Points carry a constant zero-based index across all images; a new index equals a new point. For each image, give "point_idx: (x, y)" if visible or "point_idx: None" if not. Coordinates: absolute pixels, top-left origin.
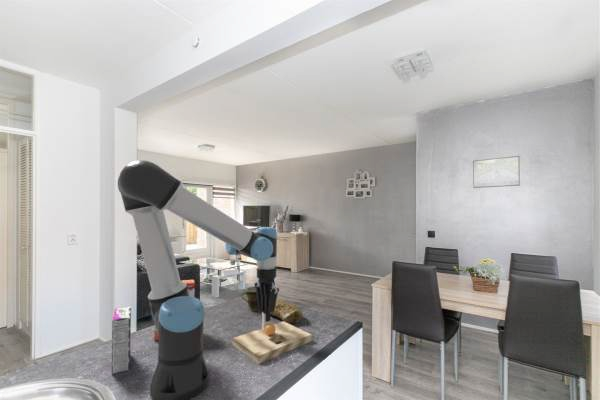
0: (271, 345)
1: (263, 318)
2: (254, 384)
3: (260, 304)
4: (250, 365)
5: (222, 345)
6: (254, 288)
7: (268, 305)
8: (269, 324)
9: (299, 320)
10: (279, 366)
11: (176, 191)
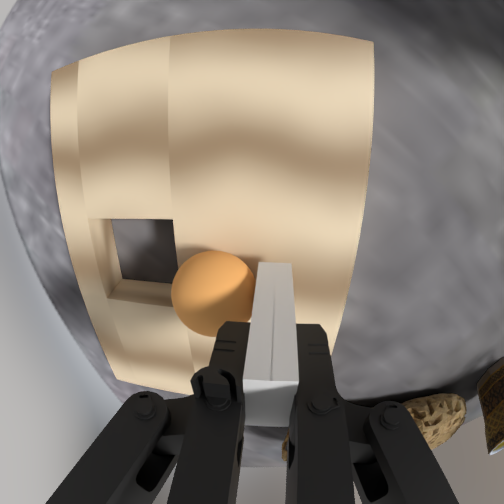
0: (93, 186)
1: (265, 328)
2: (18, 31)
3: (486, 398)
4: (91, 37)
5: (392, 21)
6: None
7: (118, 478)
8: (203, 312)
9: (288, 431)
10: (28, 145)
11: None
